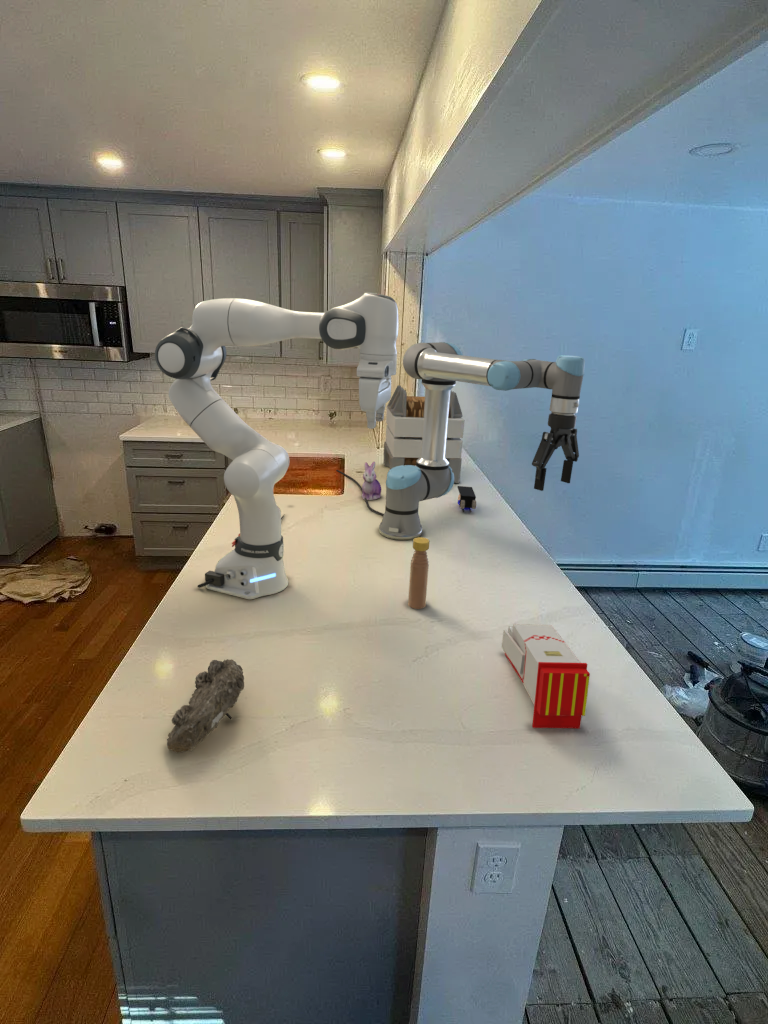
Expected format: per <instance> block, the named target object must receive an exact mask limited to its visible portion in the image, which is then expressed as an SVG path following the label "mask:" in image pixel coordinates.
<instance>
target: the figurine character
mask: <svg viewBox="0 0 768 1024" xmlns="http://www.w3.org/2000/svg"><path fill="white" fill-rule="evenodd" d="M457 491H458V493H459V494H458V496H457V505H458V506H459V509H461V511H462V513H465V511H469V514H471V513H473V511H472V510H475V509H476V508H477V500H476V498H477V496H476V493H475V491H474V489H473V487H472V486H464V485H457Z"/></svg>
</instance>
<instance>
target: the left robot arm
mask: <svg viewBox="0 0 768 1024" xmlns="http://www.w3.org/2000/svg"><path fill="white" fill-rule="evenodd" d="M191 321H192V322H191V325H190V326H189V327H186V326H181V327H179V328H178V329H176V330H175V331H173V332H171V333H170V334H168V335H166V336H165V337H163V338H162V339H161V340H160V341H159V342H158V343H157V344H156V346H155V350H154V359H155V363H156V366H157V367H158V369H159V370H160V371H161V372H162V373H163V374H165V375H166V376H168V377H169V378H172V379H175V380H174V381H173V382H172V383H171V385H170V386H169V389H168V398H169V401H170V403H171V404H172V406H173V407H174V409H175V410H176V412H177V413H178V414H179V415H180V417H181V418H182V420H184V422H185V423H186V424H187V426H188V427H189V428H190V429H191V430H192V431H193V432H194V433H195V434H196V435H197V436H198V438H200V439H201V440H202V442H203V443H204V444H205V445H207V447H208V448H209V449H210V450H211V451H213V452H215V453H219V454H221V455H223V456H225V457H227V458H228V459H230V460H232V461H231V462H230V463H229V465H228V466H227V468H226V469H225V470H224V474H223V483H224V486H225V488H226V490H227V491H228V492H229V494H231V495H232V497H233V499H234V501H235V503H236V507H237V511H238V519H239V522H238V523H239V533H238V535H237V536H236V537H235V538H234V540H233V541H232V542H231V547H232V548H233V547H234V548H233V549H231V551H229V552H227V553H226V554H224V556H222V557H221V558H220V559H219V560H218V561H217V562H216V565H215V568H214V571H213V570H208V571H207V572H205V573H204V580H205V581H204V582H202V583H199V584H197V588H198V589H200V588H203V587H205V588H206V589H208V590H211V591H215V592H218V593H222V594H227V595H230V596H233V597H238V598H242V599H245V600H254V599H257V598H260V597H265V596H270V595H275V594H277V593H279V592H283V590H286V588H287V587H288V586H289V579H288V577H287V573H286V569H285V562H284V553H285V544H284V536H283V535H282V520H281V518H282V510H281V508H280V507H279V505H277V502H276V498H275V493H274V488H275V484H277V483H278V482H279V481H281V480H282V479H283V478H284V477H285V475H286V474H287V471H288V469H289V467H290V456H289V453H288V451H287V450H286V449H285V448H284V447H283V446H282V445H280V444H278V443H275V442H273V441H271V440H269V439H268V438H266V437H265V436H264V435H262V434H261V433H260V432H258V431H257V430H255V429H254V428H253V427H251V426H250V425H248V423H246V422H245V421H244V420H243V419H242V418H241V417H240V416H239V415H238V414H237V412H236V411H235V410H234V409H233V408H232V407H231V406H230V405H229V404H228V403H227V402H226V401H225V400H224V398H223V397H221V395H220V394H219V393H218V391H216V390H215V389H214V387H213V385H212V383H211V382H212V381H214V380H216V379H217V377H218V375H219V372H220V370H221V369H222V368H223V366H224V364H225V363H226V359H227V348H226V347H227V346H229V347H245V348H251V347H260V346H265V345H266V346H267V345H271V344H275V343H278V342H283V341H287V340H291V339H316V340H317V339H318V340H322V342H323V343H324V344H325V345H326V346H327V347H329V348H331V349H333V350H337V351H346V350H350V349H358V350H359V355H358V357H359V359H358V365H357V367H356V377H357V378H358V404H359V408H360V411H361V412H365V416H366V421H367V422H366V423H367V424H366V425H367V426H366V428H367V429H369V430H374V429H375V428H376V427H377V422H379V423H381V422H383V421H384V417H385V409H386V406H387V405H386V404H387V403H389V401H390V400H391V398H392V377H393V376H396V375H397V365H398V364H397V362H398V350H397V340H398V336H399V308H398V304H397V302H396V300H395V299H394V298H392V296H390V295H389V296H388V295H385V294H382V293H378V292H373V291H366V292H364V293H363V294H362V295H361V296H359V297H358V298H355V300H353V301H350V302H348V303H345V304H342V305H339V306H335V307H332V308H330V309H328V310H327V311H325V312H316V311H315V312H314V311H312V312H311V311H297V310H292V309H287V308H284V307H280V306H278V305H277V306H276V305H273V304H270V303H266V302H262V301H260V300H259V301H258V300H253V299H249V298H239V297H238V298H235V297H226V298H225V297H223V298H215V299H214V298H213V299H207V300H203V301H201V302H199V303H197V305H195V307H194V309H193V311H192V318H191Z"/></svg>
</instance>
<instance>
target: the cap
mask: <svg viewBox="0 0 768 1024" xmlns="http://www.w3.org/2000/svg"><path fill="white" fill-rule="evenodd" d="M412 548H413V550H414V551H415V550H417V551H426V552H428V550H429V549H430V539H428V538H427V537H424V536H423V537H422V536H420V537H417V538H414V539H412Z"/></svg>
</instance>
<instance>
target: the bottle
mask: <svg viewBox="0 0 768 1024" xmlns="http://www.w3.org/2000/svg"><path fill="white" fill-rule="evenodd" d="M429 563H430V561H429V558H428V551H417V550H415V549H414V551H413V554H412V557H411V560H410V565H409V566H410V567H409V582H408V596H407V597H408V599H407V605H408V607H409V608H411V609H414V610H421V609H424V608H426V606H427V593H428V581H429V580H428V579H429V569H430V568H429V567H430V564H429Z"/></svg>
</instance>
